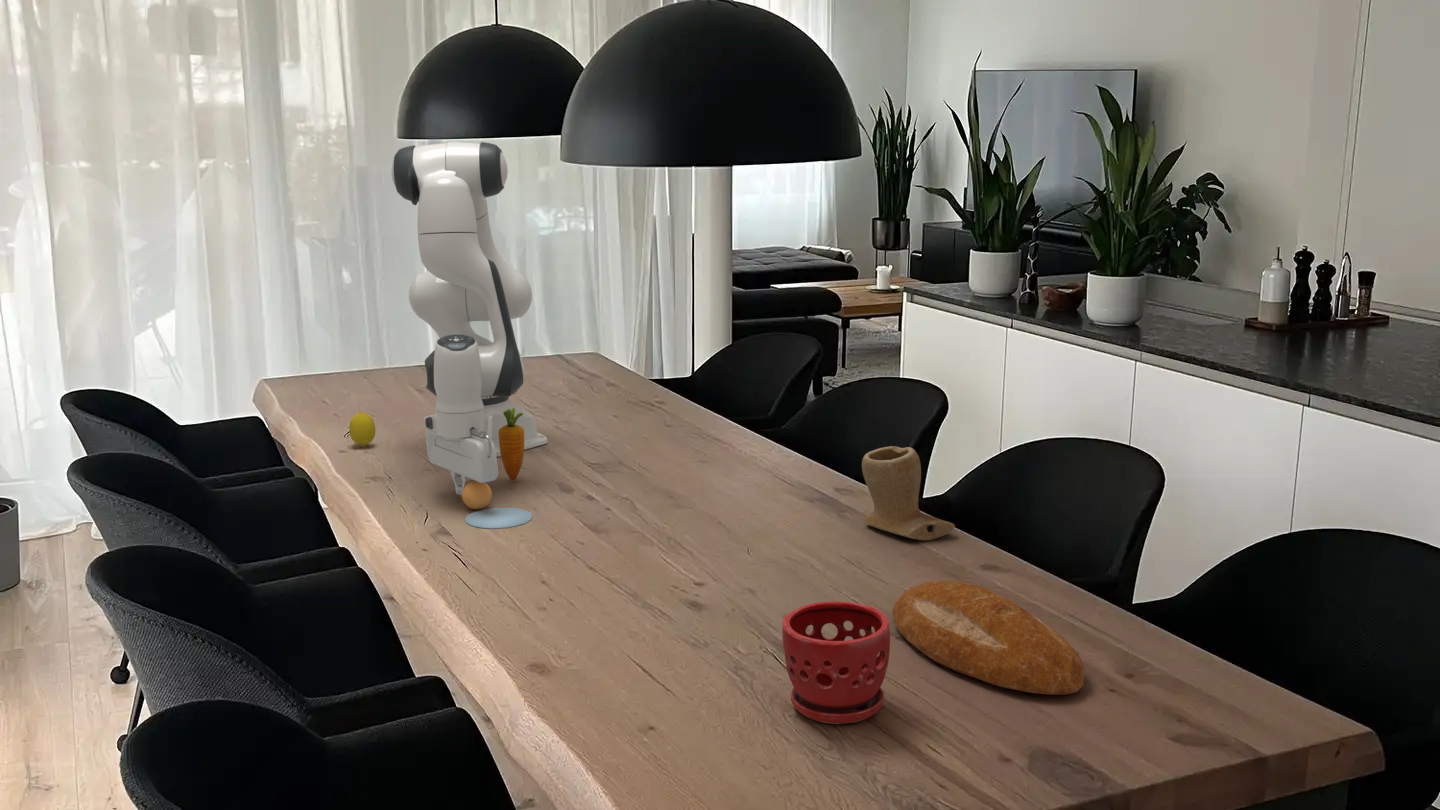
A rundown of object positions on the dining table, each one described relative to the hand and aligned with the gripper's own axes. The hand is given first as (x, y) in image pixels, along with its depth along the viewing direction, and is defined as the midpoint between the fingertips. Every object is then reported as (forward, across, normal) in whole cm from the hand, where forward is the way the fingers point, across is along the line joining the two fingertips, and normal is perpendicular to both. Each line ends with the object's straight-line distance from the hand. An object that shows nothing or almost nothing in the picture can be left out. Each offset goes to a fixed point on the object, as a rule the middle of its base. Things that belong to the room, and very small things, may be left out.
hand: (463, 495), depth 252 cm
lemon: (+2, +52, -5) cm, 52 cm away
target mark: (+2, -12, 0) cm, 12 cm away
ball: (-1, -4, 0) cm, 5 cm away
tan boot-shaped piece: (+2, -66, -48) cm, 82 cm away
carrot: (+2, +7, -15) cm, 17 cm away
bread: (+2, -108, -18) cm, 109 cm away
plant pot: (+2, -107, +10) cm, 108 cm away
